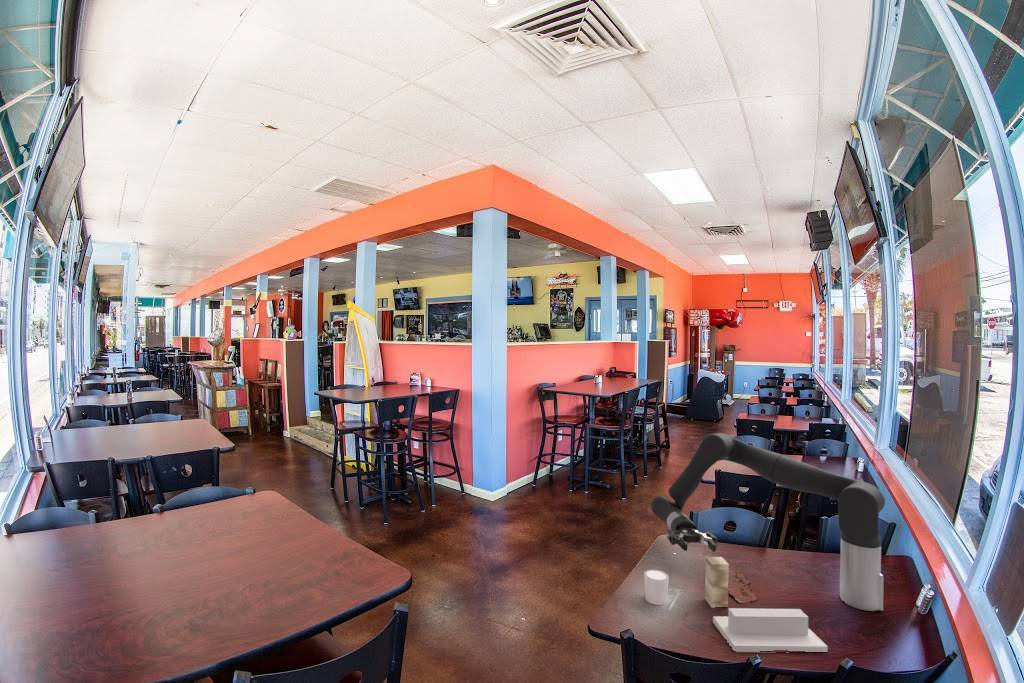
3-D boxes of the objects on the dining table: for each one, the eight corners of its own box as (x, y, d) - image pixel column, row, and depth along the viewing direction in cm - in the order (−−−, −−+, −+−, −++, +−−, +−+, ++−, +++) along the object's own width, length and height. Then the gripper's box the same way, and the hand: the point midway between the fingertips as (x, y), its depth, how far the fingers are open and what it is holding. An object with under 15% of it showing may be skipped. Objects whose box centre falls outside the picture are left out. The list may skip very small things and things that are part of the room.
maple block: (720, 599, 137) (721, 556, 137) (728, 607, 133) (728, 564, 132) (705, 598, 137) (705, 556, 137) (711, 607, 132) (712, 564, 132)
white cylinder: (670, 596, 138) (670, 572, 138) (667, 608, 132) (667, 583, 132) (645, 591, 141) (645, 567, 141) (641, 602, 135) (641, 577, 135)
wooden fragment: (762, 607, 133) (762, 604, 133) (720, 602, 136) (720, 598, 136) (741, 565, 158) (741, 562, 158) (705, 561, 161) (705, 558, 161)
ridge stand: (797, 622, 126) (797, 599, 126) (827, 652, 114) (828, 627, 114) (713, 622, 126) (713, 599, 126) (734, 652, 114) (734, 626, 114)
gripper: (660, 515, 162) (677, 535, 146) (702, 516, 162) (724, 536, 146) (659, 537, 162) (676, 559, 146) (702, 538, 162) (723, 561, 146)
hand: (700, 548), depth 146 cm, fingers open, 8 cm apart
